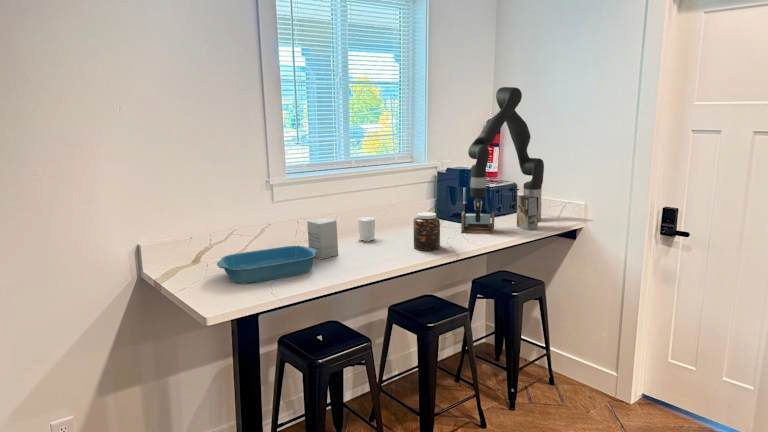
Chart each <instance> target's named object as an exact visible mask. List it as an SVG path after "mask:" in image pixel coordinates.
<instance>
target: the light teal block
mask: <svg viewBox="0 0 768 432" xmlns="http://www.w3.org/2000/svg"><path fill="white" fill-rule="evenodd" d="M490 223H492V213H481V214H480V222H476V214H475V213H465V224H490Z"/></svg>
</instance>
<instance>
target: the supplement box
mask: <svg viewBox="0 0 768 432" xmlns="http://www.w3.org/2000/svg"><path fill="white" fill-rule="evenodd" d="M306 222H307V224H306V225H307V236H308V237H307V239H308V241H307V242H308V247H309V248H313V249H315V250H316V251H317V252H316V253H315V257H316V259H319V258H320V259H319V260H324V258H325V259H327V258H328V257H329V258H332V257H331V256H333V257H336V256H338V255H339V245H338V244H339V243H338V240H339V239H338V223H337V220H335V219H330V218H325V217H323V218H317V219H313V220H307V221H306ZM315 257H314V258H315ZM329 258H328V259H329Z"/></svg>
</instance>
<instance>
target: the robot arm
mask: <svg viewBox="0 0 768 432" xmlns="http://www.w3.org/2000/svg"><path fill="white" fill-rule="evenodd" d="M522 97H523V94H522V90H521V89H520V88H518V87H516V86H515V87H514V86H513V87H512V86H511V87H510V86H503V87H500V88H498V89H497V91H496V93H495V100H496V103H497V105H498V108H499V111H498V112H497V113H496V114H494V115H493V116H492V117H491V118H490V119H489V120H488V121H487V122H486V124H485V125H484V127H483V129H482V130H481V132H480V134H479V135H478V136H477V137H476V138H475V139H474V141H473V142H472V143H471V144H470V146H469V147H468V151H467V152H468V156H469V158H471V159H473V160H476V161H475V164H473V165H472V166H471V168H470V187H469V189H470V193H469V194H470V197H473V198H474V197H475V199H473V206H474V208H473V209H474V210H475V211H474V214H476V222H480V214H482V212H481V210H482V207H483V206H482V205H483V199H482V197H483V198H484V197H486V196H487V167H488V162H489V158H490V149H489V148H488V145H490V144H492V143H493V142H494V141H495V139H496V137H497V135H498V133H499V132H500V131H501V128H502V127H503V125H504V123H506V126H507V128H508V133H509V134H510V138H511V140H512V143H513V146H514V149H515V152H516V155H517V159H518V165H519V167H520V171H521V173H522V174H523V175H524V176H529V177H530V176H531V177H532V178H531V180H528V181H526V182H524V183H523V191H522V193H523V195H529V196H534V197H538V222H541V220H542V191H543V190H542V187H543V182H544V173H545V164H544V160H543V159H542V158H539V157H538V158H536V157H530V156H529V153H528V147H529V144H530V142H531V138H532V137H531V132H530V129H529V127H528V124H527V122H526V121H525V120H524V119H523V118H522V117H521V116H520V115H519V113H518V112H517V111H516V109H517V108H518V106H519V104H520V103H521V101H522Z"/></svg>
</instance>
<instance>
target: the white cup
mask: <svg viewBox="0 0 768 432" xmlns="http://www.w3.org/2000/svg"><path fill="white" fill-rule="evenodd" d="M357 222H358V234H359V241H361V240H364V241H363V242H370V241H369V240H373V241H374V240H375V235H376V234H375V232H376V231H375V230H376V218H375V217H371V216H370V217H366V216H365V217H364V216H363V217H358V218H357Z"/></svg>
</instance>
